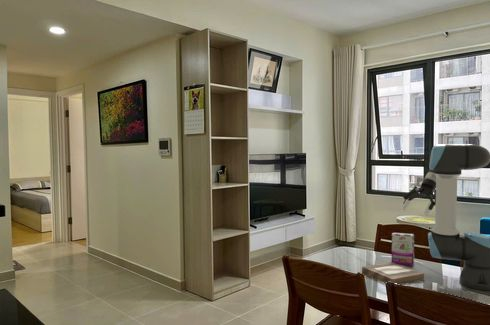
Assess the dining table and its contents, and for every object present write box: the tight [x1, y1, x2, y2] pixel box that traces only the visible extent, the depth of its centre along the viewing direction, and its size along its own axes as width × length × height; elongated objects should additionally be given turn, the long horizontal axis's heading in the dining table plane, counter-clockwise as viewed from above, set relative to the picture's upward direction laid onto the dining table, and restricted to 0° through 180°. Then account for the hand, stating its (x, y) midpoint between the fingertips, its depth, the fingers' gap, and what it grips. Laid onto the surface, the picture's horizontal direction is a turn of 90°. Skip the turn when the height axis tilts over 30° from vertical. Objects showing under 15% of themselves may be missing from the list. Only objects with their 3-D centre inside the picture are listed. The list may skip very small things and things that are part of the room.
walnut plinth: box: [361, 261, 425, 285], centre depth 179 cm, size 20×20×3 cm
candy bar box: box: [391, 232, 415, 267], centre depth 199 cm, size 11×5×16 cm, turn 62°
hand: (414, 211), depth 201 cm, fingers open, 13 cm apart
